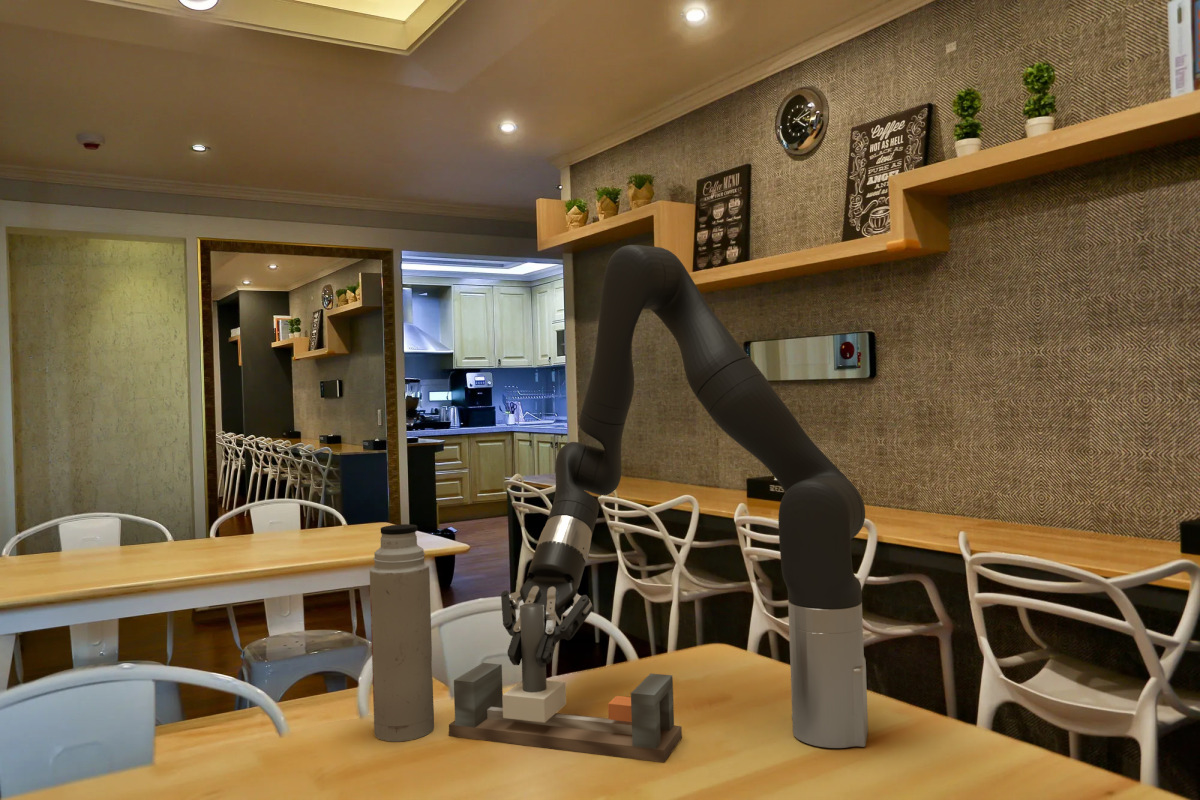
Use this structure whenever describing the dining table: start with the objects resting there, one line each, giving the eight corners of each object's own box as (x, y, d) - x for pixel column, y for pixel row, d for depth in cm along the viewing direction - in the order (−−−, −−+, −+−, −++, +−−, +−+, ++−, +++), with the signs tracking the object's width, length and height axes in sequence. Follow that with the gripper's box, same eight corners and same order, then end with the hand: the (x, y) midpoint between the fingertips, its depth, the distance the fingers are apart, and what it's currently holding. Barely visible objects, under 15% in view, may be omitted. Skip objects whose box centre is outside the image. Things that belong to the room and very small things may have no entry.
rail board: (681, 737, 110) (679, 675, 110) (664, 762, 102) (662, 696, 102) (478, 715, 121) (476, 658, 121) (448, 735, 113) (447, 675, 113)
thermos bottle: (363, 740, 113) (357, 529, 113) (390, 718, 120) (384, 521, 121) (419, 743, 111) (413, 529, 111) (443, 721, 119) (437, 521, 119)
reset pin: (653, 715, 109) (652, 699, 109) (646, 723, 106) (645, 707, 106) (616, 711, 110) (616, 695, 110) (608, 719, 108) (608, 703, 108)
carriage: (566, 704, 115) (562, 601, 115) (544, 722, 109) (541, 613, 109) (526, 700, 117) (523, 599, 117) (503, 717, 111) (499, 610, 111)
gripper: (508, 538, 123) (469, 645, 111) (599, 540, 118) (567, 652, 106) (526, 567, 128) (489, 673, 116) (613, 571, 123) (584, 682, 111)
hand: (527, 662), depth 111 cm, fingers closed on carriage, 3 cm apart
